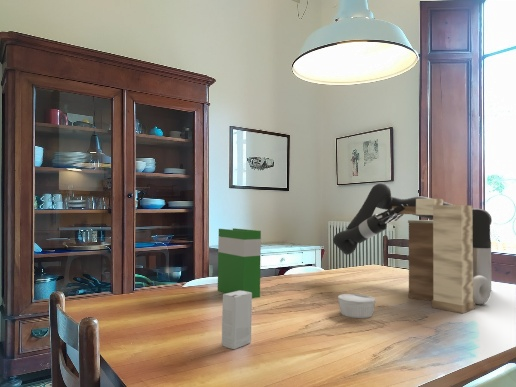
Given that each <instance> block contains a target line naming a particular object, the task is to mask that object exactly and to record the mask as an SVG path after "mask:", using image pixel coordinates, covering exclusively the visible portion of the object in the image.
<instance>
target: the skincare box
mask: <svg viewBox="0 0 516 387" xmlns="http://www.w3.org/2000/svg"><path fill="white" fill-rule="evenodd" d="M252 300H253V298H252V293H251V292H246V291H235V292H231V293H227V294H226V293H223V294H222V312H221V313H222V314H221V315H222V316H221V318H222V320H221V321H222V322H221V346H223V347H225V348H229V349H232V350H236V349H239V348H241V347H244V346H246V345H249V344H251V343H252V313H253V311H252V310H253V309H252V307H253V306H252V305H253V304H252V303H253V302H252Z"/></svg>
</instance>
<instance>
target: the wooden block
mask: <svg viewBox="0 0 516 387" xmlns="http://www.w3.org/2000/svg"><path fill="white" fill-rule="evenodd" d="M472 208H473V205H468V204H467V205H465V204H463V205H462V204H456V205H455V204H452V205H433V219H432V220H433V300H431V303H432V304H431V308H433V309H439V310H443V311H449V312H453V313H459V314H465V313H468V312H469V311H473V310H475V308H476V307H475V303H474V301H473V219H472Z"/></svg>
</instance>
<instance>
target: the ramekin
mask: <svg viewBox="0 0 516 387" xmlns="http://www.w3.org/2000/svg"><path fill="white" fill-rule="evenodd" d="M337 301H338V306H339V311H340V314H342V316H344V317H347V318H351V319H352V318H353V319H368V318H371V317H372V316H373V313H374V310H375V304H376V298H375V297H374V296H373V297H372V296H370V295H365V294H359V293H357V294H356V293H344V294H343V293H342V294H340V295H338V296H337Z"/></svg>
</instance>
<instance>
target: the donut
mask: <svg viewBox="0 0 516 387" xmlns="http://www.w3.org/2000/svg"><path fill="white" fill-rule="evenodd" d="M490 296H491V291H490V284H489V281H488V280H487V279H486V278H485V277H484V276H480V275H478V276H475V277H474V278H473V301H474V305H475V304H476V305H479V306H480V305H484V304H485V303H486V302H487V301H488V300H489V298H490Z"/></svg>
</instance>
